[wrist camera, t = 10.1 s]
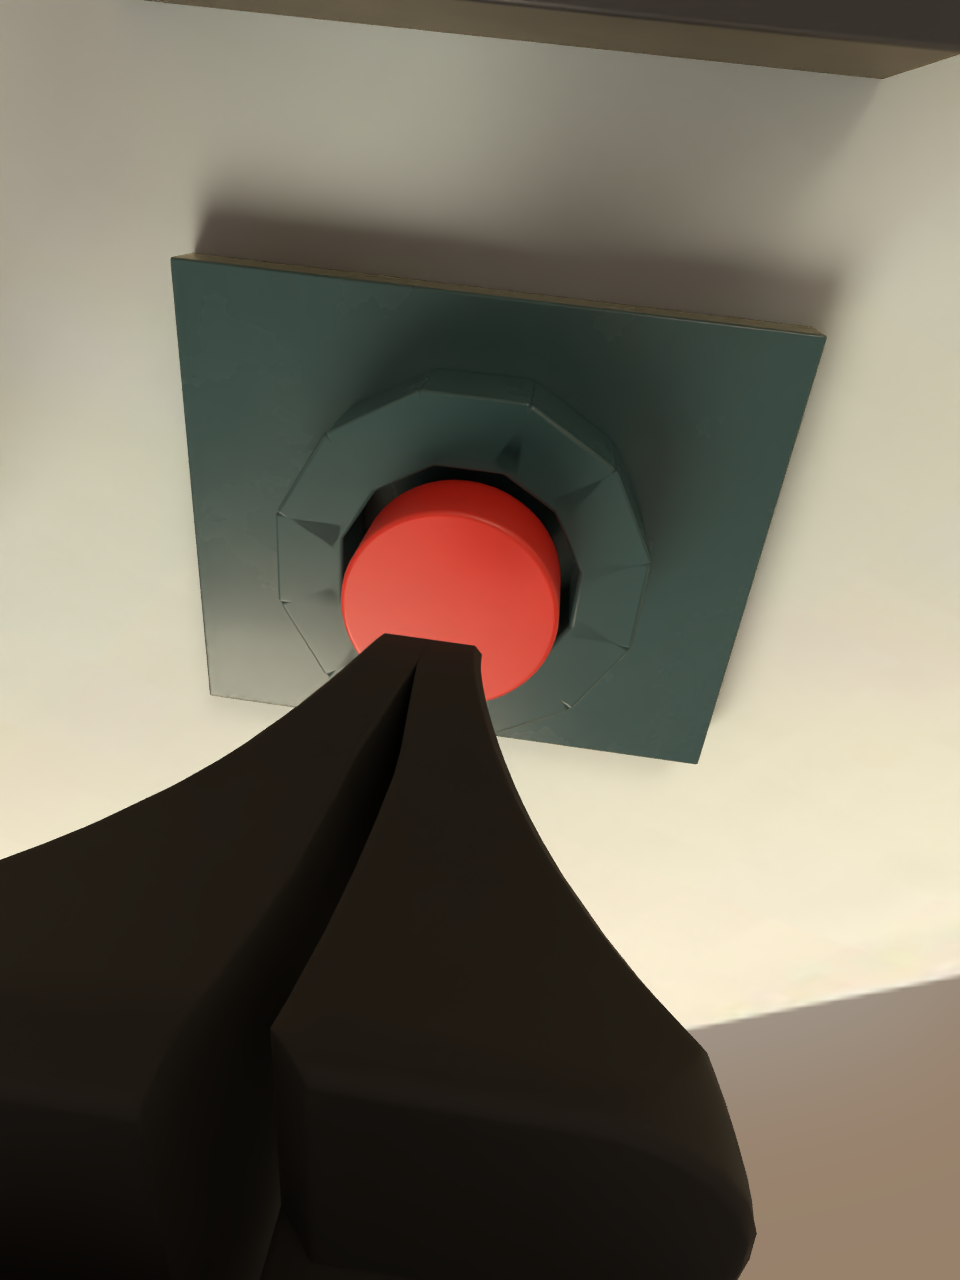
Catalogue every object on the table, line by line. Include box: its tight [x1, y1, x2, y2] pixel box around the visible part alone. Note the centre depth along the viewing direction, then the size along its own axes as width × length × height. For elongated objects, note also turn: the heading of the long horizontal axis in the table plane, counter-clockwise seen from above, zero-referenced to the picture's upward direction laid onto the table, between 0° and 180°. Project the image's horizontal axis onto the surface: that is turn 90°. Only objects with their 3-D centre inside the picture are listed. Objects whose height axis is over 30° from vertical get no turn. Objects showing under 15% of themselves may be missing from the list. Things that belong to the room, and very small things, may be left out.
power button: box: [341, 480, 561, 701], centre depth 14 cm, size 4×4×2 cm
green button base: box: [171, 253, 827, 764], centre depth 15 cm, size 11×9×3 cm
